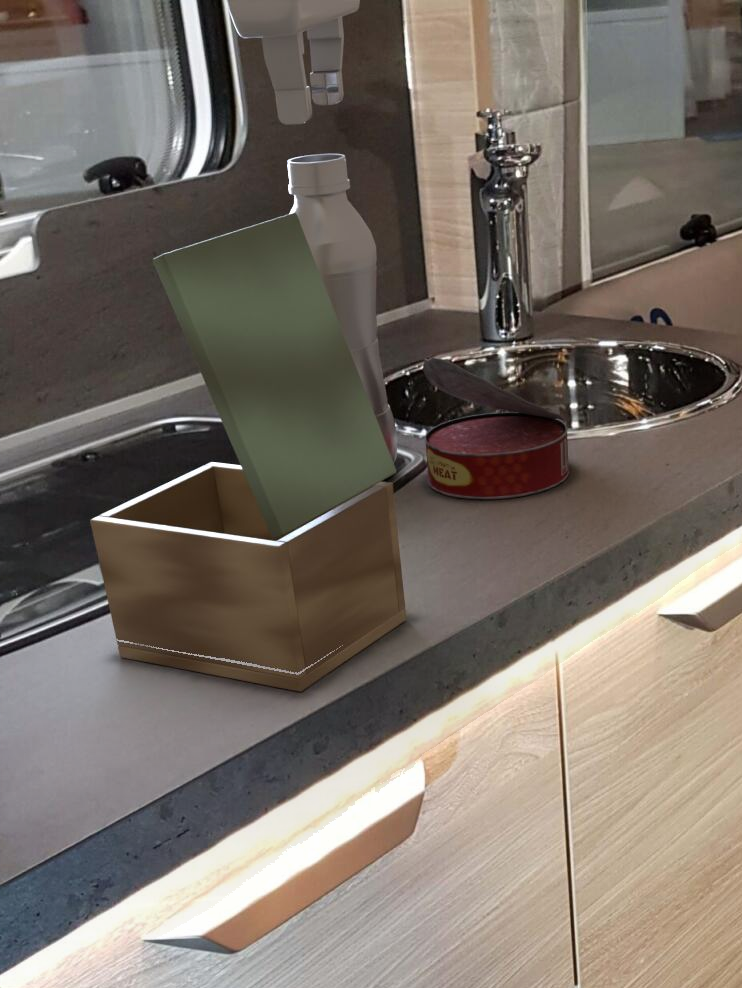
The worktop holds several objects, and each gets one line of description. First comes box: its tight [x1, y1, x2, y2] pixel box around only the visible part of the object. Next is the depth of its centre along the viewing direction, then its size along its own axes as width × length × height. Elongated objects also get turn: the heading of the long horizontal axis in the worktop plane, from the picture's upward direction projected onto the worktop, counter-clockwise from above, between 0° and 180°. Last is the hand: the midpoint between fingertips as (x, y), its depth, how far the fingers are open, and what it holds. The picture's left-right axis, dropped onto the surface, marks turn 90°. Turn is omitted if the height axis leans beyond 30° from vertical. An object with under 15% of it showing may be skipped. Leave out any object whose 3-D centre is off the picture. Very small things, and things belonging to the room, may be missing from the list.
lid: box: [152, 213, 397, 539], centre depth 76 cm, size 13×10×1 cm
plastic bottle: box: [287, 153, 399, 464], centre depth 103 cm, size 6×7×20 cm
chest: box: [89, 461, 408, 692], centre depth 84 cm, size 12×10×8 cm
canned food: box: [422, 357, 570, 500], centre depth 106 cm, size 11×10×10 cm
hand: (313, 113), depth 95 cm, fingers open, 8 cm apart
